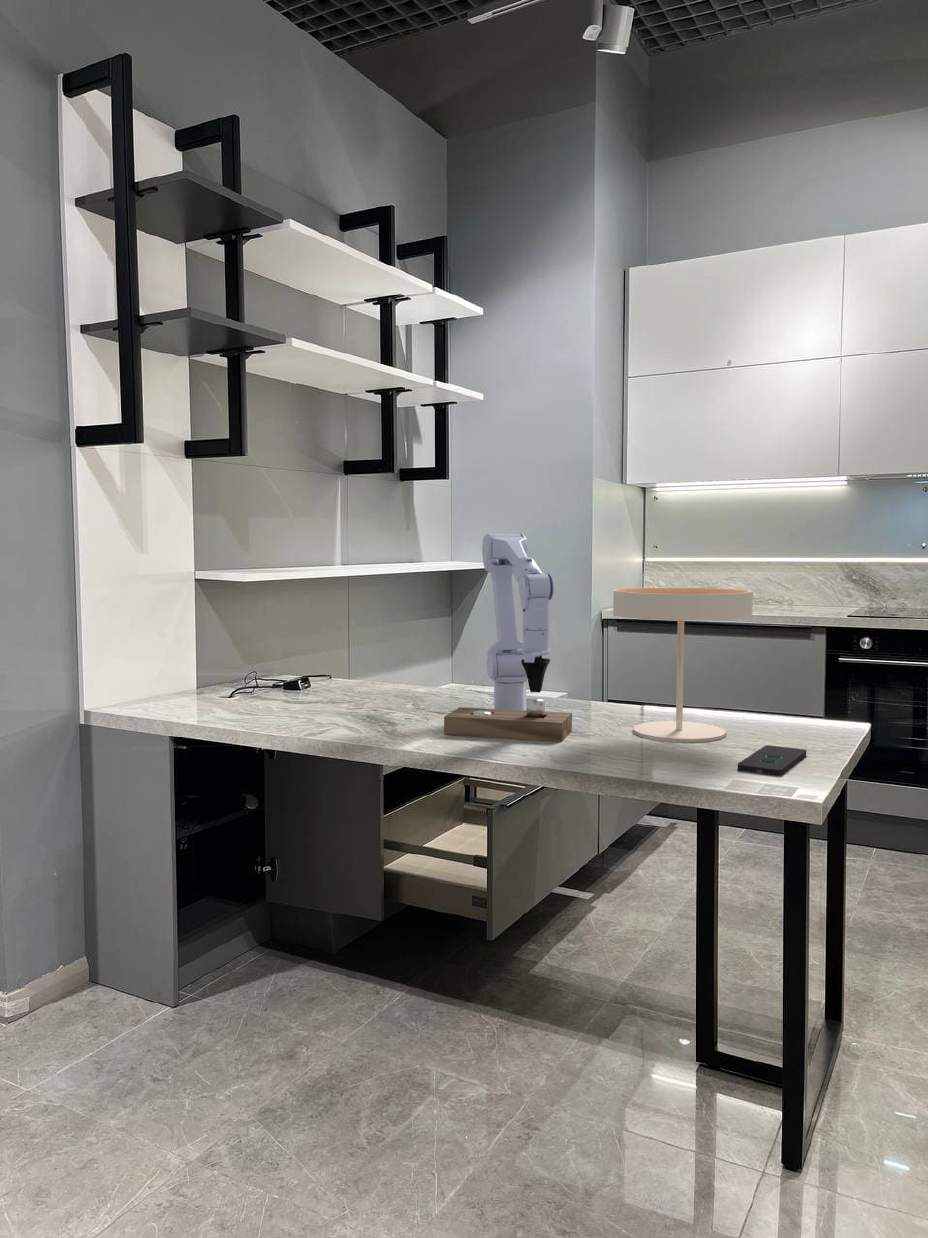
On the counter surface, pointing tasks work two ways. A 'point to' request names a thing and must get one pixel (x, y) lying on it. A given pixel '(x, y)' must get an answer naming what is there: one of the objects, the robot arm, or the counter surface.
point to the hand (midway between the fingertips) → (535, 692)
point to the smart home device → (772, 760)
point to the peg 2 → (535, 708)
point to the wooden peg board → (508, 724)
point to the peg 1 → (482, 713)
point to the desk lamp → (681, 641)
